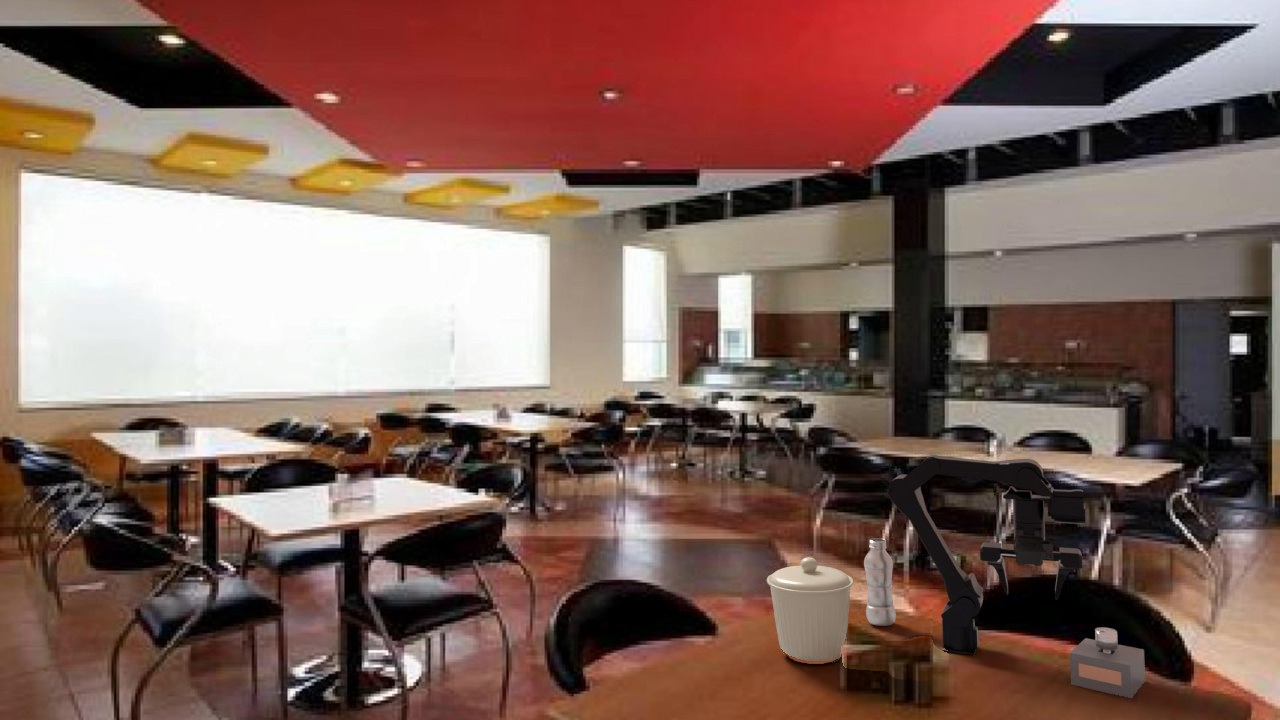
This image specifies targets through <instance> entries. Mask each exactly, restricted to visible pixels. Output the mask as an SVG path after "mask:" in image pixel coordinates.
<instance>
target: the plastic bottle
mask: <svg viewBox="0 0 1280 720" xmlns="http://www.w3.org/2000/svg"><path fill="white" fill-rule="evenodd" d="M868 546H869V548H870V550H869V551H868V552H867V554H866V555H865V557H864V560H863V567H864V570H865V571H864V572H865V575H866V576H865V578H866V584H867V603H866V610H865V615H866V618H867V619H866V620H867V621H868V622H869V623H870V624H871V625H873V626H877V627H879V626H880V627H888V626H892V625H893V624H894V623H895V621H896V615H897V614H896V613H897V612H896V608H895V605H894V599H893V591H892V577H893V568H894V567H893V566H894V561H893V559H892V557H891V556H890V554H889V553H888V552H887V550H886V549H888V548H887V540H886V539H884V538H870V539H869V545H868Z"/></svg>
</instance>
